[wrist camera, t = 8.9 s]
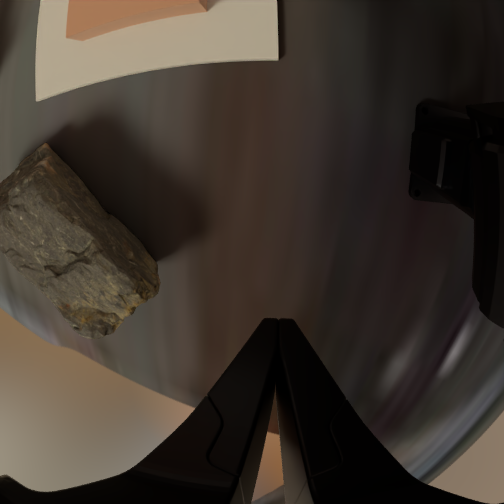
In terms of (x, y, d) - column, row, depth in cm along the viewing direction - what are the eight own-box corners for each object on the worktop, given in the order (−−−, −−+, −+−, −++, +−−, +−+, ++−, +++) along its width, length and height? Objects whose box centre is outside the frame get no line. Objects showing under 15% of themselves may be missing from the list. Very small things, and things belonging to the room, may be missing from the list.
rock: (186, 238, 16) (123, 366, 18) (197, 218, 22) (144, 320, 24) (-15, 121, 12) (-46, 245, 14) (34, 127, 19) (0, 227, 21)
